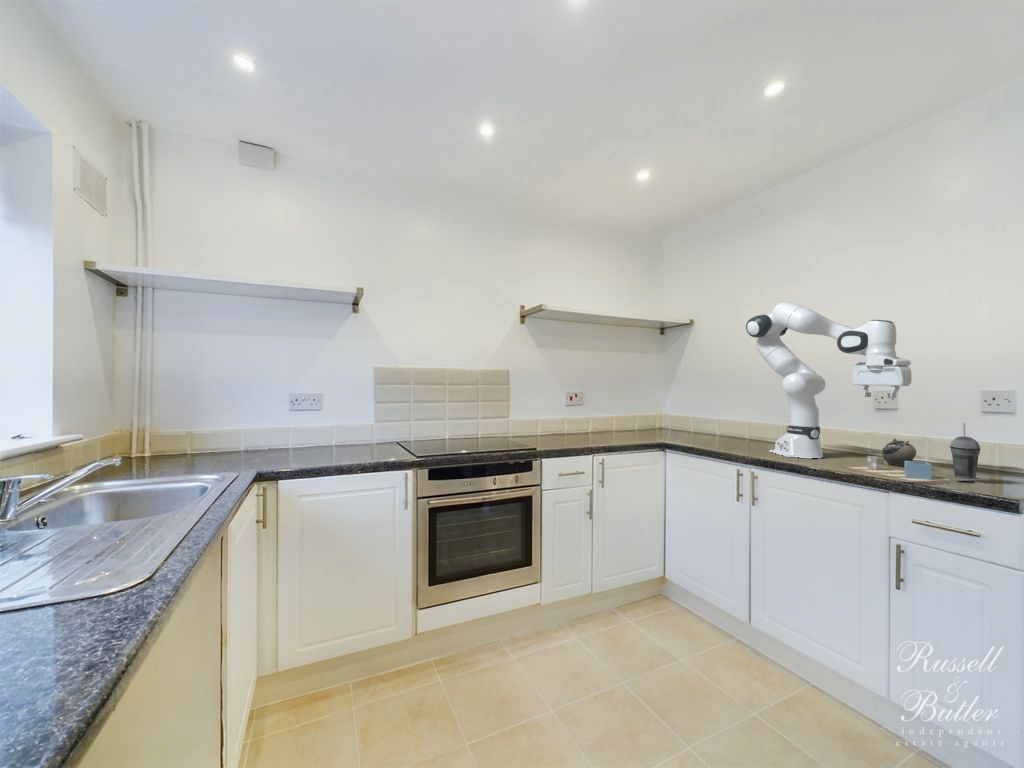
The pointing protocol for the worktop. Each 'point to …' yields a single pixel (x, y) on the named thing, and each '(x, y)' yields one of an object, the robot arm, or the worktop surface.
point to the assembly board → (896, 472)
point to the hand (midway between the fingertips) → (879, 397)
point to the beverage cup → (965, 457)
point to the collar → (918, 470)
